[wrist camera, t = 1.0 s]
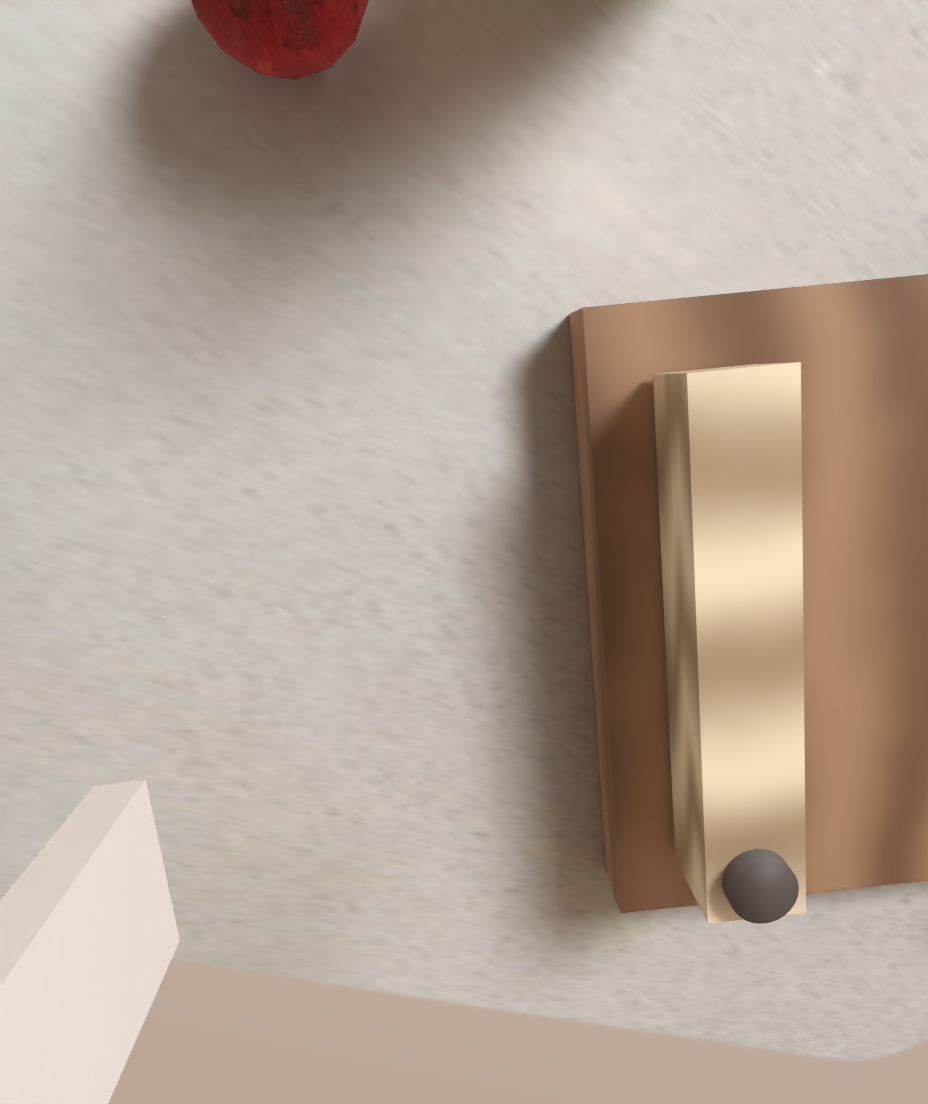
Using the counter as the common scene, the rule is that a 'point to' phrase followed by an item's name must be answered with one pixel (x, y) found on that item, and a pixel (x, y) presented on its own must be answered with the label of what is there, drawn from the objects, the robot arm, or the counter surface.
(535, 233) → the counter surface
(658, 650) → the brown flat square block
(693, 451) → the folding leg
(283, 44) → the onion
